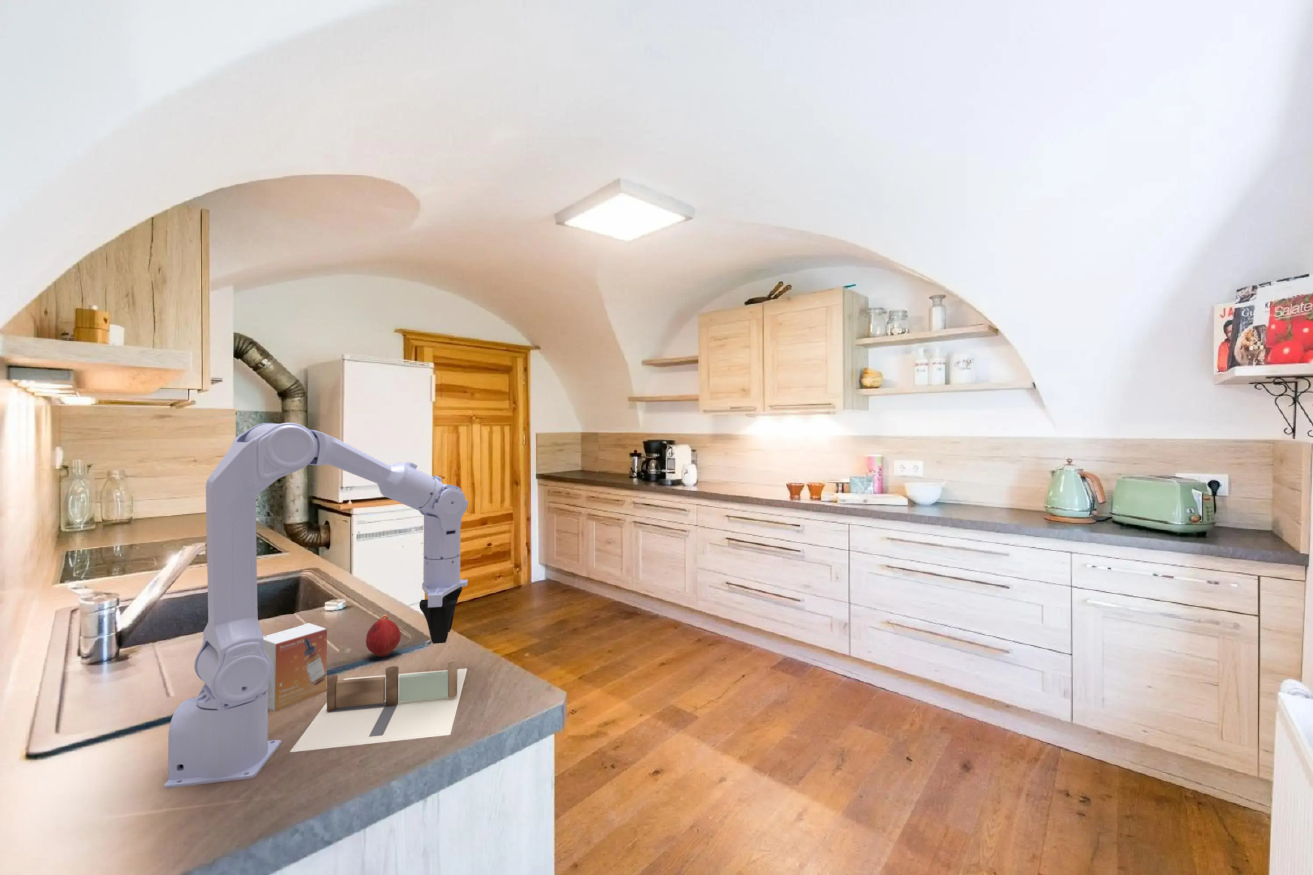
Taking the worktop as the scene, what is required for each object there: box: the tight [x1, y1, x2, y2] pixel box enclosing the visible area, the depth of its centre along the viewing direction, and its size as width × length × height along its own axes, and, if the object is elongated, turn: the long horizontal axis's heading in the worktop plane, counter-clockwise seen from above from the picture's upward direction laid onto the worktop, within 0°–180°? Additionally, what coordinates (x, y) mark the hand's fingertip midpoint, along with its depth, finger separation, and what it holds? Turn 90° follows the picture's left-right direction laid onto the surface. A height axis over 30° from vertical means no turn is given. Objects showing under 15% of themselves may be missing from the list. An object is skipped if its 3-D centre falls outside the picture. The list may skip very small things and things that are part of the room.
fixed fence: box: [326, 665, 400, 712], centre depth 84 cm, size 10×2×6 cm, turn 103°
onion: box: [365, 614, 402, 658], centre depth 104 cm, size 6×6×8 cm
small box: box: [263, 622, 328, 712], centre depth 88 cm, size 8×6×10 cm
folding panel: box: [399, 661, 458, 702], centre depth 87 cm, size 8×1×5 cm, turn 103°
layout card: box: [289, 667, 468, 753], centre depth 85 cm, size 20×22×1 cm
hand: (441, 637), depth 92 cm, fingers open, 4 cm apart
